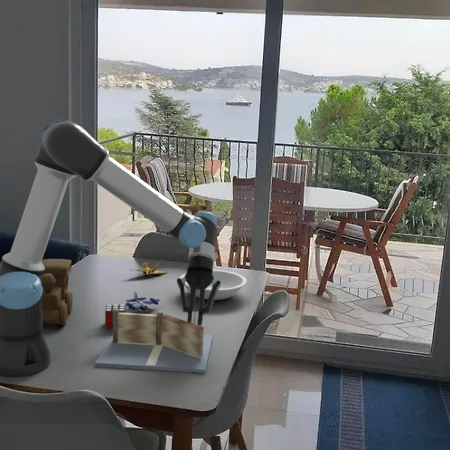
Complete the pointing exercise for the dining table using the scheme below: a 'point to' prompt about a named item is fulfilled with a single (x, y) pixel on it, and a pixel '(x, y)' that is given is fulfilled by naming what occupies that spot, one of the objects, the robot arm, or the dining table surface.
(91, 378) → the dining table surface
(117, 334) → the fence fixed section
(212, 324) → the dining table surface
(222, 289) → the soup bowl
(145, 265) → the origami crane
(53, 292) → the wooden toy train
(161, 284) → the dining table surface
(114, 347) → the board
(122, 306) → the puzzle toy
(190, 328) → the fence panel
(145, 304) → the toy airplane
